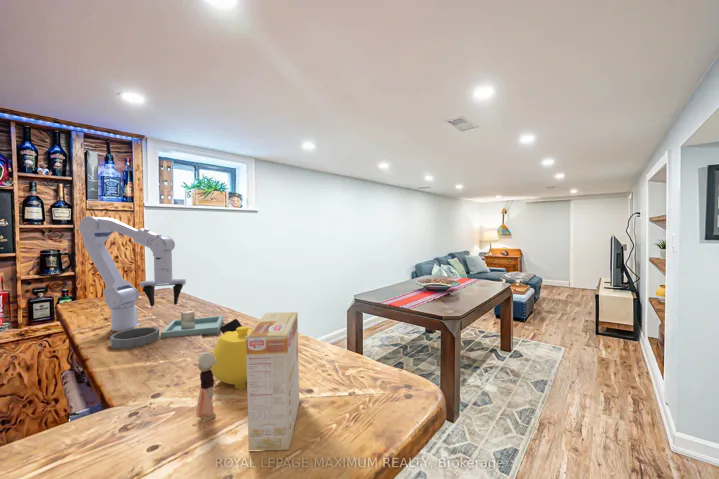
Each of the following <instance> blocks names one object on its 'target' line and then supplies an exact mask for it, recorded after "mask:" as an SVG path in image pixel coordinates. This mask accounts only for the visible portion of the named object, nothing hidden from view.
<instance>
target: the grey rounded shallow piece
mask: <svg viewBox="0 0 719 479" xmlns="http://www.w3.org/2000/svg"><path fill="white" fill-rule="evenodd" d="M158 339H160V329H159V328H158V327H155V326H152V327H151V326H144V327H133V328H131V329H127V330H121V331H117V332H115V333H113V334H112V335H111V336H109V346H110V348H112V349H118V350H121V349H122V350H126V349H134V348H138V347H143V346H145V345H150V344H151V343H154V342H157V341H158Z"/></svg>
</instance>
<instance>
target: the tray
mask: <svg viewBox="0 0 719 479" xmlns="http://www.w3.org/2000/svg"><path fill="white" fill-rule="evenodd" d="M222 322H223V323H224V316H223V315H217V316H207V317H206V316H205V317H195V328H194V329H185V330H181V319H173V320H171V322H169V323H168V325H167V326H165V328H164V329H162V331H161V332H160V339H162V338H164V339H165V338H172V337H173V338H174V337H183V336H189V335H190V336H193V335H201V337H204V336H214V335H219V334H218V333H220V332H221V330H220V328H221V327H222V326H223V323H222ZM221 325H222V326H221ZM213 334H214V335H213Z"/></svg>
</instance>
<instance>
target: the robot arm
mask: <svg viewBox="0 0 719 479" xmlns="http://www.w3.org/2000/svg"><path fill="white" fill-rule="evenodd" d="M77 228H78V230H79V232H80V233H81V237H82V244H83V246H84V248H85V250H86V252H87V254H88V255H89V257H90V259H91V261H92V263H93V264H94V266H95V268H96V270H97V271H98V274H99V276H100V277H101V279H102V280H103V282H104V284H105V288H104V290H103V291H102V294H103V297H104V302H105V304H106V306H107V307H108V309H109V310H110V324H111V325H110V328H111V331H112V332H121V331H125V330H129V329H134V328H136V327H139V326H141V324H142V323H139V322H138V321H139V320H138V308H137V306H136V302H137V300H138V299H139V296H140V294H139V290H138V289H137V288H136V287H134V286H133V284H132V283H131V282H129V281H127V280H126V279H124V278H123V276H122V274H121V272H120V271H119V268H118V267H117V265H116V263H115V261H114V260H113V258H112V256H111V254H110V252H109V251H108V249H107V246H106V245H105V242H106V241H107V240H108V238H110V237H111V236H112V234H113V233H114V232H115V233H118V234H120V235H121V234H122V235H125V236H127V237H129V238H132V239H133V241H134V243H136V244H138V245H141V246H143V247H145V248H149V249H150V251H151V252H152V256H153V268H154V269H153V270H154V272H153V273H154V279H153V280H144V281H140V284H139V285H140V286H139V287H140V288H142V291H143V292H144V294H145V295H146V297H147V298H148V301H149V305H150V307H153V306H155V304H156V302H155V287H163V286H164V287H165V286H172V290H173V305H175V306H176V305H177V304H178V301H179V296H180V294H181V291H182V289H183V286H185V285H186V283H187V282H186V281H187V280H186V278H182V279H177V278H175V279H173V259H172V254H173V253H172V251H173V250H174V249H175V245H176V244H175V241H174V239H173V238H171V237H170V236H162V234H160V233H155V232H153V231H151V230H150V229H149V228H140V229H136V228H134V227H132V226H130V225H128V224H126V223H124V222H121V221H120V220H118V219H115V218H112V217H107V216H106V217H98V216H89V215H87V216H84V217H82V219H81V220H80V222H79V224H78V226H77Z"/></svg>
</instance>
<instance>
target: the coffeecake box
mask: <svg viewBox="0 0 719 479" xmlns="http://www.w3.org/2000/svg"><path fill="white" fill-rule="evenodd" d="M298 322H299V321H298V312H297V311H295V312H266V313H265V314H264V315H263V316H262V317H261V318H260V319H259V321H258V322H257V323H256V324H255V325H254V327H253V328H252V330H251V331H250V333H249V334H248V335H247V336H246V337H245V339H246V365H247V382H246V390H247V428H248V429H247V431H248V434H247V435H248V436H247V437H248V440H247V441H248V451H249V450H278V451H288V450H290V448H291V447H290V446H291V442H292V440H293V439H292V438H293V433H294V430H295V424H296V421H297V417H298V416H297V415H298V412H299V406H300V379H299V378H300V377H299V376H300V374H299V372H300V371H299V366H300V365H299V326H298V324H299V323H298Z"/></svg>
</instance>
